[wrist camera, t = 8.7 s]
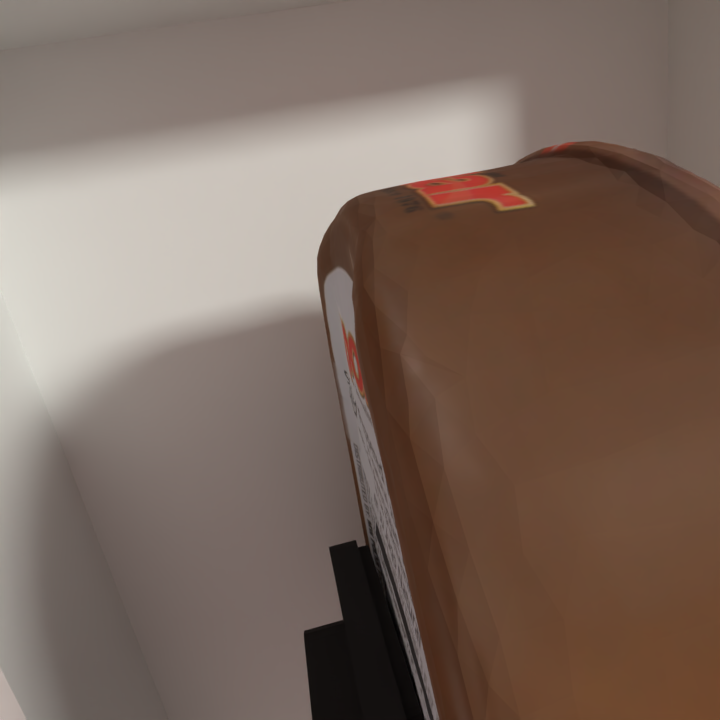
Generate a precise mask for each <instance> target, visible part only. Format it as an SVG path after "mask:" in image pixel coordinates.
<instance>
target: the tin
mask: <svg viewBox="0 0 720 720" xmlns="http://www.w3.org/2000/svg"><path fill="white" fill-rule="evenodd" d="M317 277H318V286H319V292H320V298H321V304H322V310H323V316H324V322H325V328H326V334H327V340H328V346H329V352H330V358H331V363H332V368H333V373H334V378H335V383H336V388H337V393H338V399H339V404H340V410H341V415H342V420H343V425H344V431H345V436H346V441H347V446H348V451H349V457H350V462H351V467H352V473H353V478H354V484H355V489H356V495H357V500H358V506H359V511H360V517H361V522H362V528H363V533H364V539H365V544H366V545H369V548H370V551H371V554H372V557H373V560H374V563H375V567H376V570H377V573H378V576H379V579H380V582H381V586H382V589H383V592H384V595H385V598H386V601H387V605H388V608H389V611H390V614H391V617H392V620H393V624H394V627H395V630H396V633H397V636H398V639H399V643H400V646H401V649H402V652H403V655H404V658H405V662H406V665H407V668H408V671H409V674H410V677H411V681H412V684H413V687H414V690H415V693H416V696H417V700H418V703H419V706H420V709H421V713H422V716H423V720H720V187H718V186H716V185H714V184H713V183H711V182H709V181H708V180H706V179H704V178H702V177H699V176H697V175H695V174H694V173H692V172H690V171H688V170H686V169H684V168H681V167H679V166H677V165H675V164H674V163H672V162H670V161H669V160H667V159H665V158H663V157H660V156H657V155H654V154H650V153H647V152H643V151H639V150H637V149H635V148H633V149H632V148H628V147H624V146H621V145H616V144H611V143H605V142H598V141H583V142H567V143H563V144H559V145H554V146H550V147H546V148H542V149H540V150H538V151H536V152H534V153H531V154H529V155H527V156H525V157H524V158H522V159H520V160H518V161H517V162H516V163H515V164H513V165H508V166H504V167H499V168H494V169H489V170H483V171H477V172H472V173H466V174H460V175H455V176H449V177H443V178H436V179H430V180H424V181H418V182H413V183H408V184H403V185H399V186H394V187H389V188H384V189H380V190H375V191H371V192H368V193H364V194H361V195H358V196H356V197H354V198H352V199H350V200H349V201H347V202H346V203H345V204H344V205H343V206H342V207H341V208H340V210H339V212H338V213H337V215H336V217H335V219H334V220H333V221H332V223H331V224H330V226H329V227H328V229H327V231H326V232H325V234H324V236H323V239H322V242H321V244H320V247H319V251H318V255H317Z"/></svg>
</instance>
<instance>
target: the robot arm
mask: <svg viewBox="0 0 720 720" xmlns="http://www.w3.org/2000/svg"><path fill="white" fill-rule="evenodd" d="M329 551H330V556H331V561H332V566H333V571H334V576H335V581H336V586H337V591H338V596H339V601H340V606H341V611H342V616H343V620H340V621H337V622H333V623H330V624H326V625H323V626H319V627H315V628H312V629H308V630H305V631H304V644H305V654H306V664H307V673H308V683H309V693H310V703H311V713H312V720H423V716H422V713H421V709H420V706H419V703H418V700H417V696H416V693H415V690H414V687H413V684H412V681H411V677H410V674H409V671H408V668H407V665H406V662H405V658H404V655H403V652H402V649H401V646H400V643H399V639H398V636H397V633H396V630H395V627H394V624H393V620H392V617H391V614H390V611H389V608H388V605H387V601H386V598H385V595H384V592H383V589H382V586H381V582H380V579H379V576H378V573H377V570H376V567H375V563H374V560H373V557H372V554H371V551H370V548H369V545H365V546H361V547H358V545H357V542H356V540H353V541H349V542H345V543H342V544H338V545H334V546H330V547H329Z"/></svg>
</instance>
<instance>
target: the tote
mask: <svg viewBox="0 0 720 720" xmlns="http://www.w3.org/2000/svg"><path fill="white" fill-rule="evenodd" d="M583 141H598V142H605V143H611V144H616V145H621V146H624V147H628V148H632V149H633V148H635V149H637V150H639V151H643V152H647V153H650V154H654V155H657V156H660V157H663V158H665V159H667V160H669V161H670V162H672V163H674V164H675V165H677V166H679V167H681V168H684V169H686V170H688V171H690V172H692V173H694V174H695V175H697V176H699V177H702V178H704V179H706V180H708V181H709V182H711V183H713V184H714V185H716V186H718V187H720V0H0V720H312V713H311V703H310V693H309V683H308V673H307V664H306V654H305V644H304V631H305V630H308V629H312V628H315V627H319V626H323V625H326V624H330V623H333V622H337V621H340V620H343V616H342V611H341V606H340V601H339V596H338V591H337V586H336V581H335V576H334V571H333V566H332V561H331V556H330V551H329V547H330V546H334V545H338V544H342V543H345V542H349V541H353V540H356V542H357V545H358V547H361V546H365V545H366V544H365V539H364V533H363V528H362V522H361V517H360V511H359V506H358V500H357V495H356V489H355V484H354V478H353V473H352V467H351V462H350V457H349V451H348V446H347V441H346V436H345V431H344V425H343V420H342V415H341V410H340V404H339V399H338V393H337V388H336V383H335V378H334V373H333V368H332V363H331V358H330V352H329V346H328V340H327V334H326V328H325V322H324V316H323V310H322V304H321V298H320V292H319V286H318V277H317V255H318V251H319V247H320V244H321V242H322V239H323V236H324V234H325V232H326V231H327V229H328V227H329V226H330V224H331V223H332V221H333V220H334V219H335V217H336V215H337V213H338V212H339V210H340V208H341V207H342V206H343V205H344V204H345V203H346V202H347V201H349V200H350V199H352V198H354V197H356V196H358V195H361V194H364V193H368V192H371V191H375V190H380V189H384V188H389V187H394V186H399V185H403V184H408V183H413V182H418V181H424V180H430V179H436V178H443V177H449V176H455V175H460V174H466V173H472V172H477V171H483V170H489V169H494V168H499V167H504V166H508V165H513V164H515V163H516V162H517V161H518V160H520V159H522V158H524V157H525V156H527V155H529V154H531V153H534V152H536V151H538V150H540V149H542V148H546V147H550V146H554V145H559V144H563V143H567V142H583Z"/></svg>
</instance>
